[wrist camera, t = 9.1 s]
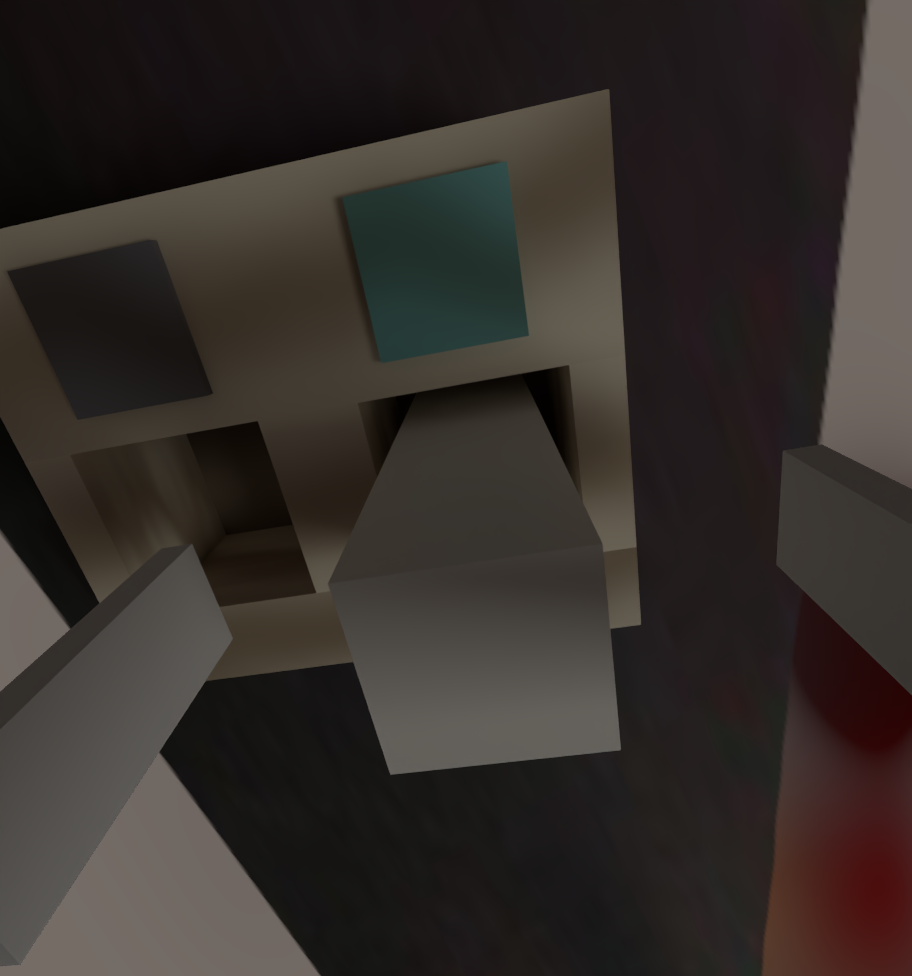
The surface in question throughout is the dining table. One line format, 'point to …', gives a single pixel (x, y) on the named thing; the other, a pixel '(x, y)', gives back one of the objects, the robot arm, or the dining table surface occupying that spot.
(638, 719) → the dining table surface
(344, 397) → the socket board
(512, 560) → the plug
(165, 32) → the dining table surface
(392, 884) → the dining table surface
